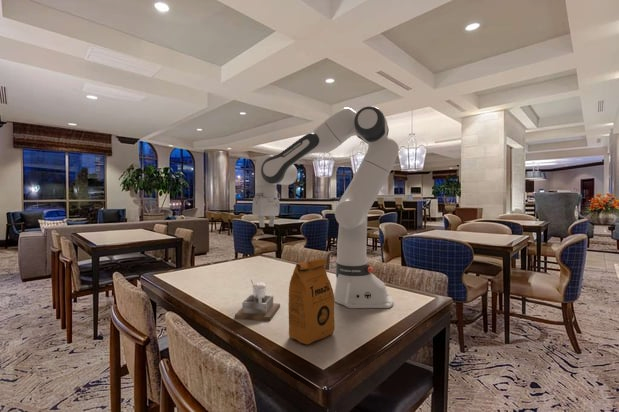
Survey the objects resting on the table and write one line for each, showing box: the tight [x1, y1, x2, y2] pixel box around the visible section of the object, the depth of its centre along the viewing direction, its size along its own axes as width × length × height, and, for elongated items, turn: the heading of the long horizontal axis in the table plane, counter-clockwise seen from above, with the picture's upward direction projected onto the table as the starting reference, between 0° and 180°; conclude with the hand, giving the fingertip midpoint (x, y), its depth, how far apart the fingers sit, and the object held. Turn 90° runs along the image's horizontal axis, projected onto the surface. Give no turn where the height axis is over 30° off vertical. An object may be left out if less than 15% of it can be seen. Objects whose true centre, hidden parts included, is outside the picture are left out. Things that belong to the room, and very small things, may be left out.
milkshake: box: [250, 278, 267, 303], centre depth 104 cm, size 4×5×10 cm
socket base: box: [234, 293, 281, 322], centre depth 104 cm, size 12×12×5 cm
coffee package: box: [288, 257, 336, 345], centre depth 86 cm, size 10×12×22 cm
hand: (266, 226), depth 128 cm, fingers open, 8 cm apart
